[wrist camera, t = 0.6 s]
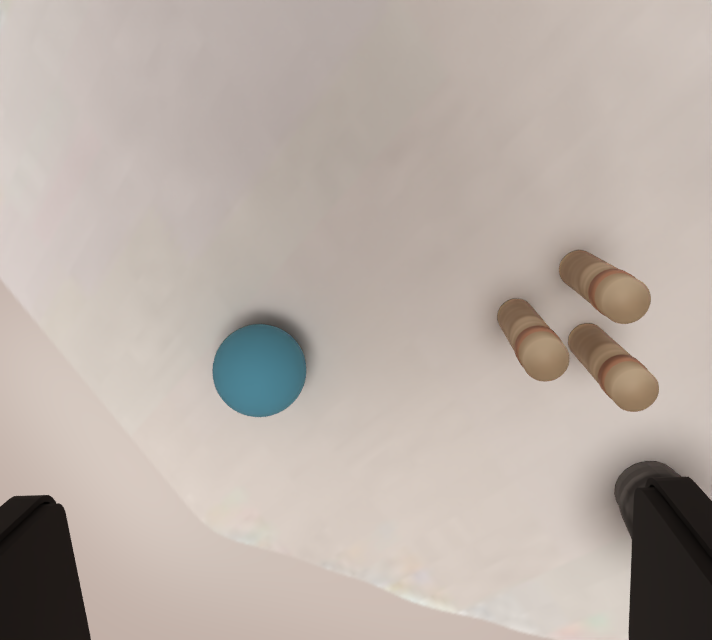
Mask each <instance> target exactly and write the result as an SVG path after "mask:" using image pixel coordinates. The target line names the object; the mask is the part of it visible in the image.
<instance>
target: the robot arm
mask: <svg viewBox="0 0 712 640" xmlns="http://www.w3.org/2000/svg"><path fill="white" fill-rule="evenodd" d="M0 640H91V639H90V633H89V628H88V622H87V617H86V612H85V607H84V602H83V597H82V592H81V588H80V582H79V577H78V573H77V567H76V563H75V557H74V553H73V547H72V542H71V538H70V533H69V528H68V523H67V518H66V513H65V510H64V508H63V506H62V505H61V504H56V502H55V500H54V499H53V498H52V497H51V496H49V495H38V496H14V497H12V498H10V499H9V500H8V501H7V502H5V503H4V504H3V505H2V506H1V507H0ZM629 640H712V501H711V500H710V499H709V497H708V496H707V495H706V494H705V493H704V492H703V491H702V490H701V489H700V488H699V487H698V485H697V484H696V483H695V482H694V481H693V480H692V479H691V478H689V477H659V478H649V479H648V480H647V482H646V485H645V487H638V488H636V489H635V492H634V505H633V532H632V558H631V585H630V611H629Z"/></svg>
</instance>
